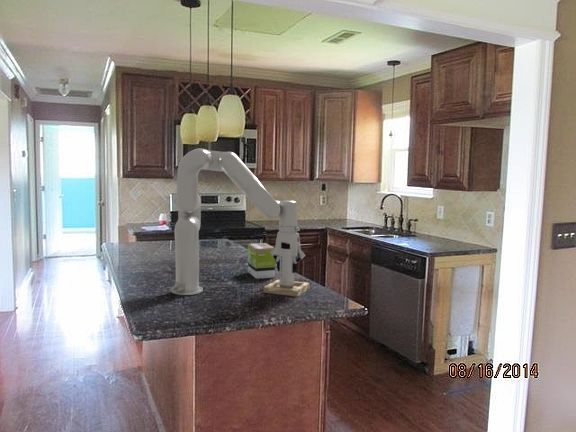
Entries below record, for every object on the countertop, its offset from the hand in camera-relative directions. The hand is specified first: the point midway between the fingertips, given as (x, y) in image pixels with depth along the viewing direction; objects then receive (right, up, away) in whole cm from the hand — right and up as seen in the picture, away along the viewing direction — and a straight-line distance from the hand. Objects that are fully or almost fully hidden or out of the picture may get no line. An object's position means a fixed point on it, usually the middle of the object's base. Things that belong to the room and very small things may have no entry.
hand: (287, 271), depth 201 cm
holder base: (0, -8, +1) cm, 8 cm away
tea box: (-13, -6, +30) cm, 33 cm away
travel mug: (0, -7, +1) cm, 7 cm away
